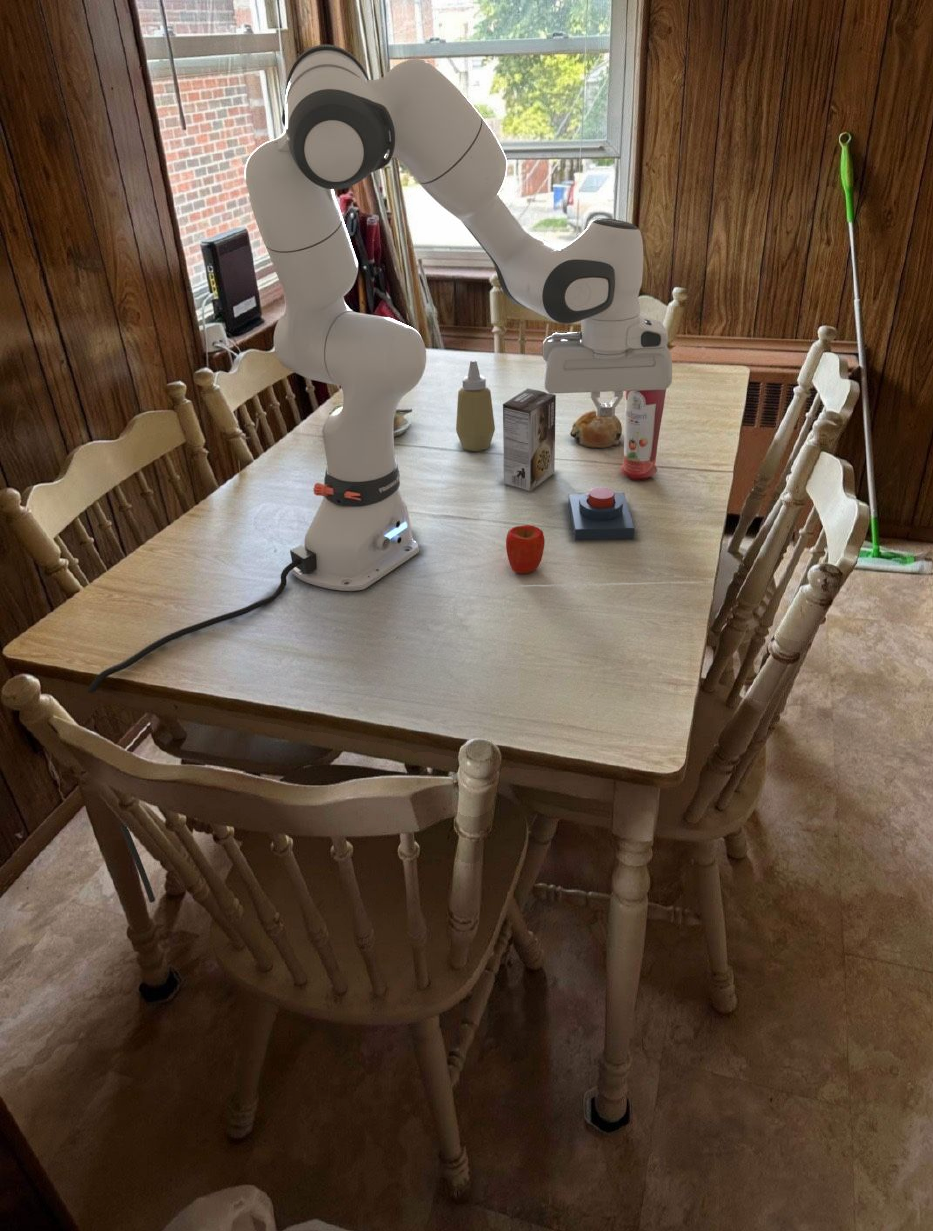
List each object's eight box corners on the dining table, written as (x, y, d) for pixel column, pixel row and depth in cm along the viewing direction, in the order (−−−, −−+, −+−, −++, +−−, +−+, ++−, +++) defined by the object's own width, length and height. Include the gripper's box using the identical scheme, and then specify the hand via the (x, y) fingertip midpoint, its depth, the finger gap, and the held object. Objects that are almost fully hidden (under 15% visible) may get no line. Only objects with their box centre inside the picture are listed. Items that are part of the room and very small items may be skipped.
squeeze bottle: (496, 438, 186) (495, 353, 176) (493, 454, 179) (492, 367, 169) (458, 437, 187) (455, 353, 176) (454, 453, 180) (450, 367, 170)
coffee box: (527, 466, 174) (527, 387, 165) (555, 473, 171) (557, 393, 162) (502, 483, 168) (501, 403, 159) (530, 491, 165) (531, 410, 156)
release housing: (633, 539, 150) (635, 518, 147) (574, 540, 150) (575, 520, 148) (623, 503, 160) (624, 483, 158) (568, 504, 161) (569, 485, 158)
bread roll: (605, 467, 181) (623, 436, 176) (561, 442, 181) (579, 410, 176) (615, 447, 188) (633, 417, 183) (573, 423, 189) (591, 392, 184)
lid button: (615, 509, 151) (616, 498, 150) (589, 509, 151) (590, 499, 150) (612, 497, 155) (612, 486, 154) (587, 497, 155) (587, 487, 154)
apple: (528, 584, 139) (528, 544, 135) (497, 572, 142) (497, 532, 138) (551, 568, 143) (552, 527, 139) (521, 556, 146) (521, 516, 142)
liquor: (664, 474, 169) (680, 328, 153) (644, 487, 165) (657, 338, 149) (632, 463, 174) (644, 320, 157) (611, 476, 169) (621, 330, 153)
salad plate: (398, 405, 203) (397, 386, 200) (430, 432, 190) (429, 411, 187) (318, 422, 196) (315, 402, 193) (346, 451, 183) (343, 430, 180)
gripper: (543, 340, 134) (542, 425, 142) (678, 335, 133) (670, 421, 142) (541, 327, 139) (540, 410, 147) (671, 322, 139) (663, 406, 147)
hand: (605, 415), depth 144 cm, fingers closed
